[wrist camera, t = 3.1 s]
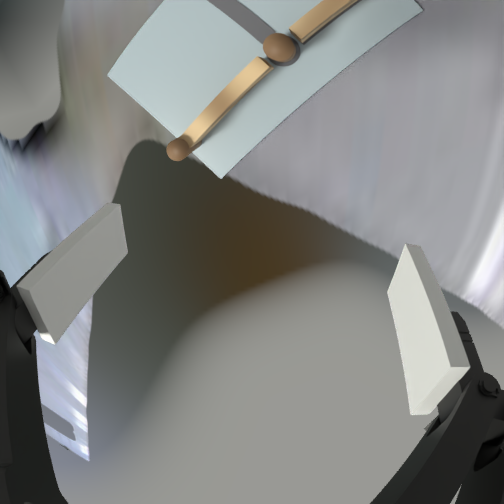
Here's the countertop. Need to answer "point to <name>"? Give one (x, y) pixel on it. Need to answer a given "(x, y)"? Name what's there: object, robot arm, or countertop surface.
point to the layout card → (242, 63)
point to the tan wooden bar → (218, 108)
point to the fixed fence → (303, 29)
